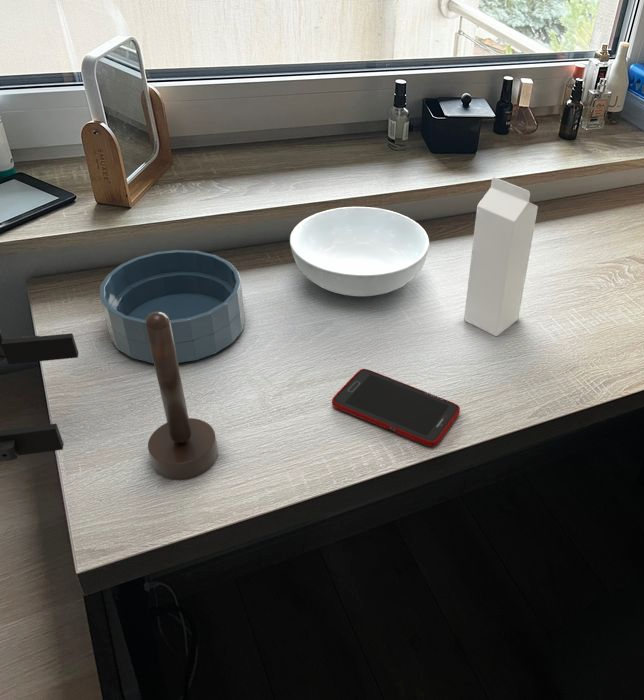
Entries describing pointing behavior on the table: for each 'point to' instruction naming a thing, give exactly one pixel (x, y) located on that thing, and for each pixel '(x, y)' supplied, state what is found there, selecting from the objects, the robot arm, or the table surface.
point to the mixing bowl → (174, 303)
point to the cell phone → (397, 407)
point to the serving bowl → (359, 250)
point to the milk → (499, 257)
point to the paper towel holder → (176, 413)
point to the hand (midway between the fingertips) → (68, 387)
